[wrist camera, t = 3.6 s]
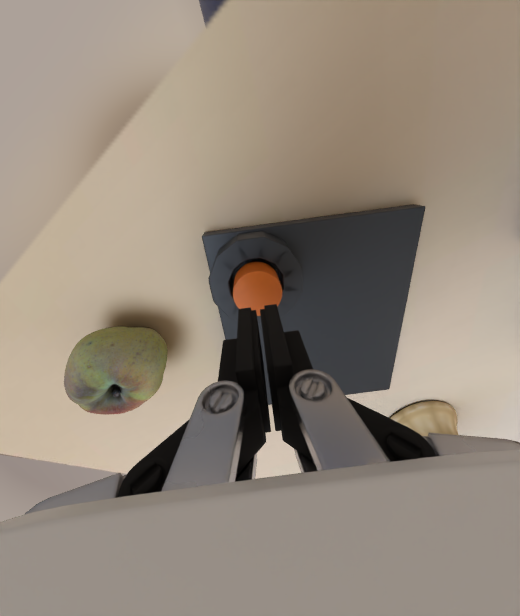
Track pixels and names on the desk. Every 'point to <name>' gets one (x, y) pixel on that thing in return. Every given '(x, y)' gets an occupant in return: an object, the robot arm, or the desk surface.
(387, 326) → the scale
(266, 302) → the button
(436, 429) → the hand bell
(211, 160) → the desk surface
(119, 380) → the apple
